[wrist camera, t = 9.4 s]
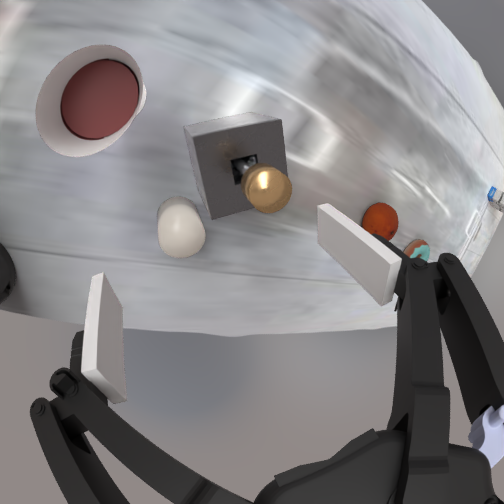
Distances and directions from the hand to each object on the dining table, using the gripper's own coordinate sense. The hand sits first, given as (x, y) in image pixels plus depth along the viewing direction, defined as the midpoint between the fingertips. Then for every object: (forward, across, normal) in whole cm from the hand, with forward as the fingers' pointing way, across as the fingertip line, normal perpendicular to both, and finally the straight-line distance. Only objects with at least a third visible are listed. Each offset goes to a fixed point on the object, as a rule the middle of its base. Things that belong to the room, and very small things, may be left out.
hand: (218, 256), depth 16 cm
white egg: (+32, -2, -11) cm, 34 cm away
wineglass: (+32, -6, +11) cm, 34 cm away
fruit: (+31, +40, -23) cm, 55 cm away
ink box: (+29, +108, -31) cm, 115 cm away
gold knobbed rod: (+29, +8, -2) cm, 31 cm away
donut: (+30, +58, -41) cm, 77 cm away
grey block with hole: (+31, +8, -2) cm, 33 cm away
